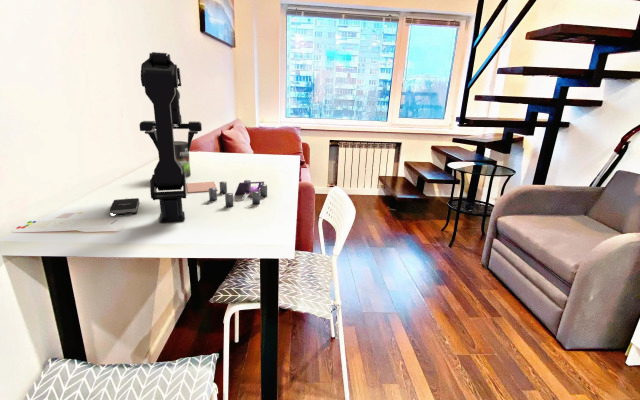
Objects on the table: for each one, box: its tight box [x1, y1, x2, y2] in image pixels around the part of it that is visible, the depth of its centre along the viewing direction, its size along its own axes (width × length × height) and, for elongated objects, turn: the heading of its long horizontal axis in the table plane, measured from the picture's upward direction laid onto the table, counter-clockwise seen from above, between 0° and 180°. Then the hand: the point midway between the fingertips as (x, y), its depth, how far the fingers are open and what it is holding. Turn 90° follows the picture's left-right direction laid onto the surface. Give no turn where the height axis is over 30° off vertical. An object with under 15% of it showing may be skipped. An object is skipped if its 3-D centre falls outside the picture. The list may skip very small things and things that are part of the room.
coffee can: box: [174, 140, 192, 179], centre depth 140 cm, size 10×10×14 cm
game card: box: [234, 181, 265, 197], centre depth 121 cm, size 7×5×9 cm
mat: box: [186, 181, 218, 194], centre depth 128 cm, size 12×10×1 cm
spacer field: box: [208, 179, 268, 208], centre depth 118 cm, size 17×19×4 cm
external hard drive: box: [108, 197, 140, 216], centre depth 104 cm, size 7×11×2 cm, turn 23°
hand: (174, 151), depth 118 cm, fingers open, 9 cm apart
